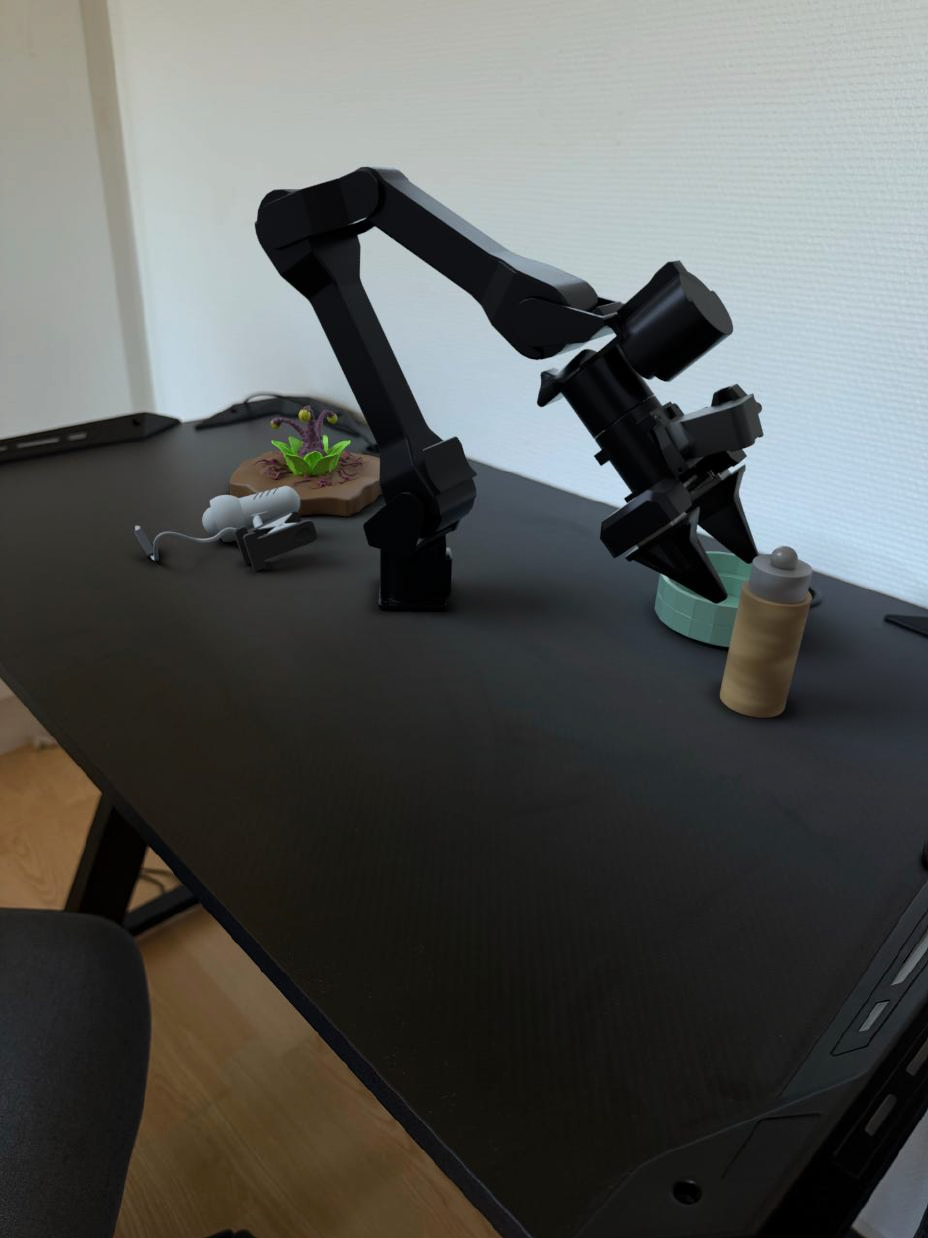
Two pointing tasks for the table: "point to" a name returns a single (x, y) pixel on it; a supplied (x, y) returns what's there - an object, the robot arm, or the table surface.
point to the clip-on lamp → (249, 525)
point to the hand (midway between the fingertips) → (739, 579)
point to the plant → (312, 470)
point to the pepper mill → (767, 634)
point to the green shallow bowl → (704, 603)
